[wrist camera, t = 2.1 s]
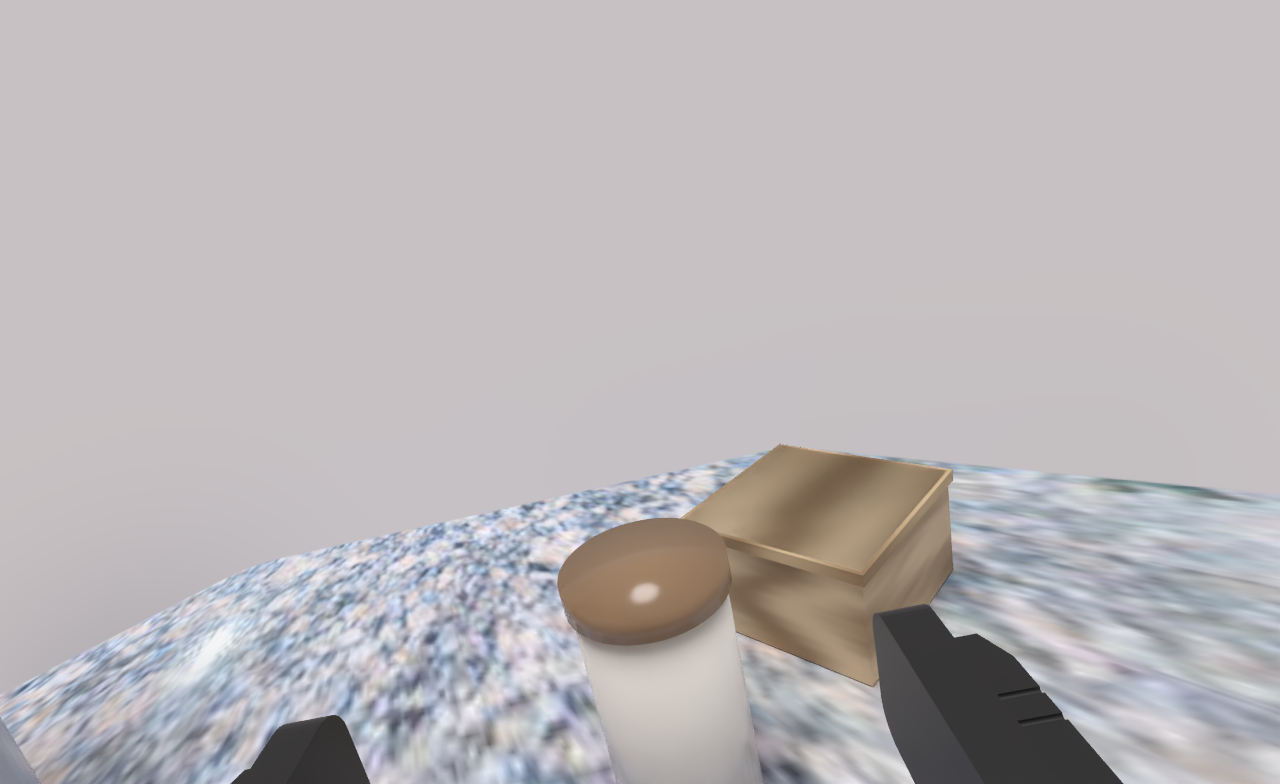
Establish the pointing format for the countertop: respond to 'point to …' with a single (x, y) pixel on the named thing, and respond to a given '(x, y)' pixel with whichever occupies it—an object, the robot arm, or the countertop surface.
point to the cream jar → (663, 652)
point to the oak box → (830, 549)
